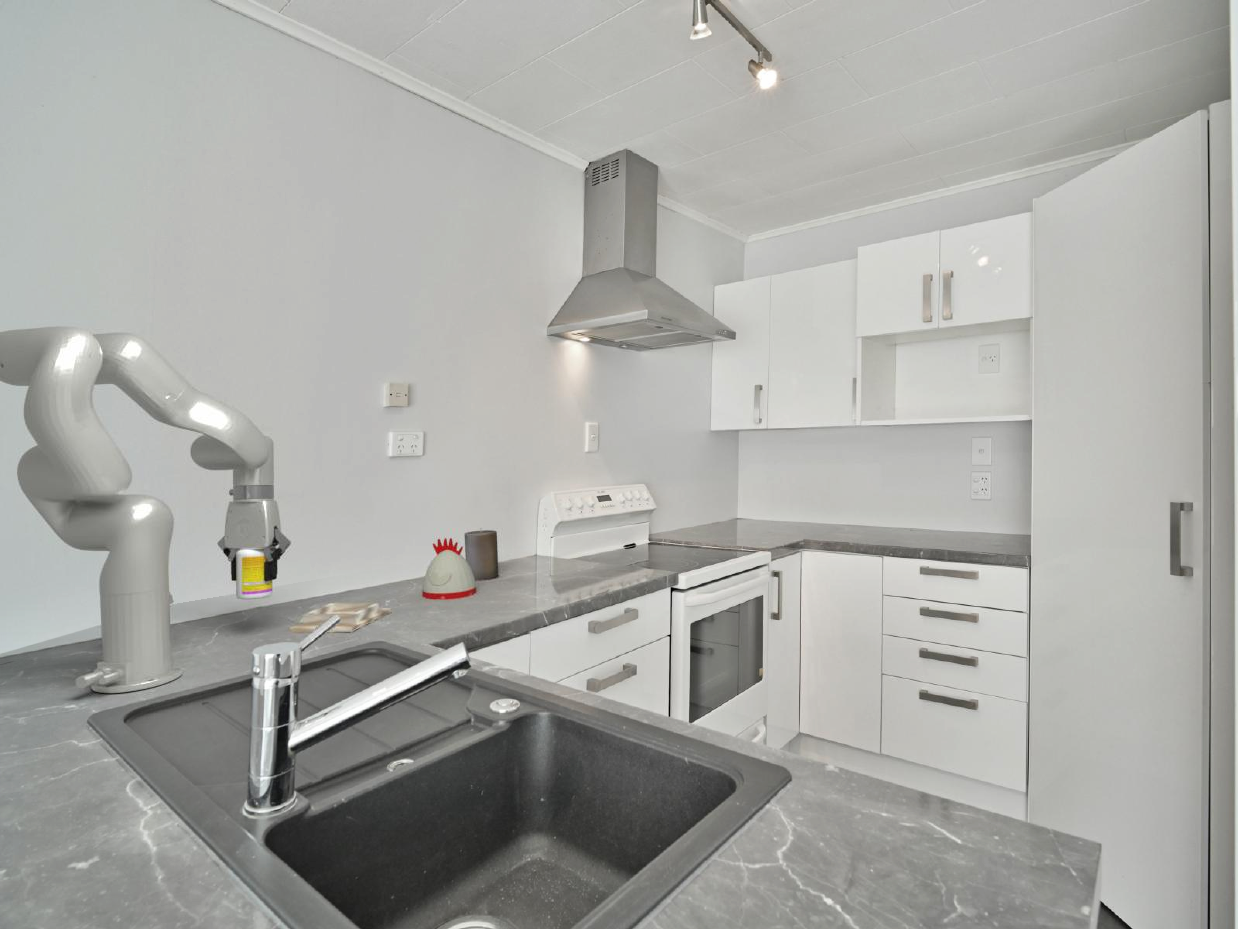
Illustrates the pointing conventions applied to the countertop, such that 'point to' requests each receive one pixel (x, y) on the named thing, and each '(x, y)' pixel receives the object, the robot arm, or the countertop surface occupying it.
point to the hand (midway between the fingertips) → (254, 579)
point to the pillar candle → (482, 554)
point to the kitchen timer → (448, 574)
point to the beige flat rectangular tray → (349, 613)
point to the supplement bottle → (251, 575)
